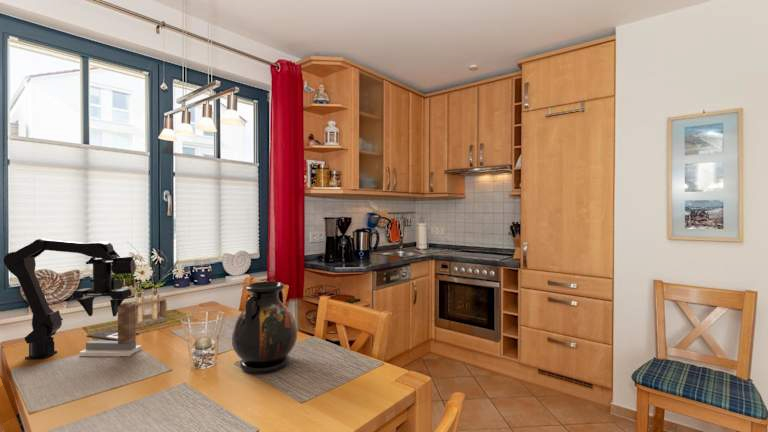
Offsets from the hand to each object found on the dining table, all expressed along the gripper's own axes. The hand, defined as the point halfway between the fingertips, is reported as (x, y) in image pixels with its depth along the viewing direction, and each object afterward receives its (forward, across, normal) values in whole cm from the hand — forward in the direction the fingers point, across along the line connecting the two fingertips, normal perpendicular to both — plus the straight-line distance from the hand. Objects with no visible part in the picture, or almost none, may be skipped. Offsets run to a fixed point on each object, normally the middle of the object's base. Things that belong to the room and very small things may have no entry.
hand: (102, 316), depth 142 cm
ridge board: (+13, -5, +2) cm, 14 cm away
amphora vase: (+13, -66, +12) cm, 68 cm away
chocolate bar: (+14, +8, -16) cm, 23 cm away
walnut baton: (+9, -11, +3) cm, 14 cm away
